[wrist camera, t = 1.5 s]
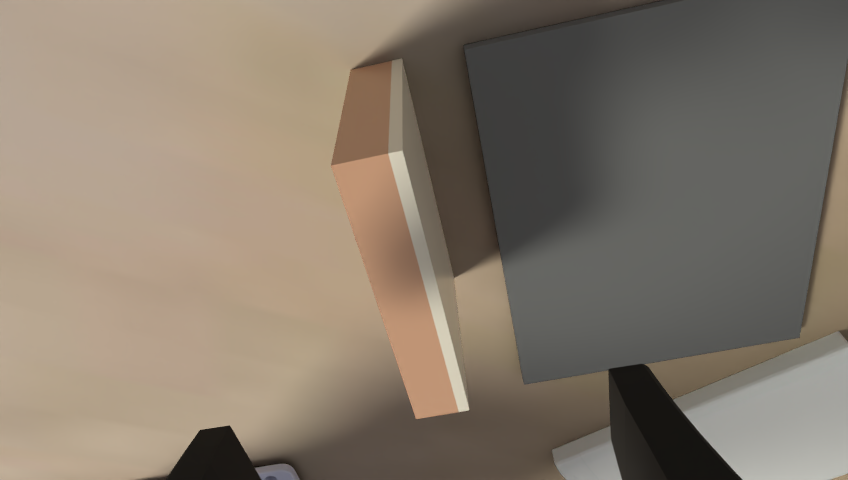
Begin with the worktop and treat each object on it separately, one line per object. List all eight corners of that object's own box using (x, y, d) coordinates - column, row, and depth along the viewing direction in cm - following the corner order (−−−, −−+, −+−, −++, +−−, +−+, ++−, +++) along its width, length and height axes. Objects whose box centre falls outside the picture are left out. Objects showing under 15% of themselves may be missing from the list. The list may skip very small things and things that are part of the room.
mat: (522, 377, 25) (524, 384, 24) (463, 45, 17) (464, 49, 17) (793, 330, 24) (799, 337, 23) (855, -43, 16) (865, -41, 16)
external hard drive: (870, 432, 28) (619, 524, 32) (829, 319, 24) (547, 439, 28) (895, 462, 27) (629, 555, 30) (855, 348, 23) (555, 470, 26)
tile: (412, 284, 22) (416, 419, 17) (351, 69, 18) (331, 165, 13) (453, 277, 22) (469, 410, 17) (402, 57, 17) (402, 150, 12)
